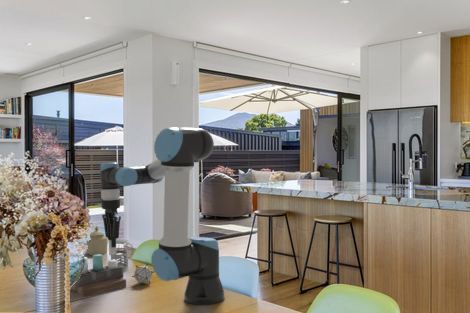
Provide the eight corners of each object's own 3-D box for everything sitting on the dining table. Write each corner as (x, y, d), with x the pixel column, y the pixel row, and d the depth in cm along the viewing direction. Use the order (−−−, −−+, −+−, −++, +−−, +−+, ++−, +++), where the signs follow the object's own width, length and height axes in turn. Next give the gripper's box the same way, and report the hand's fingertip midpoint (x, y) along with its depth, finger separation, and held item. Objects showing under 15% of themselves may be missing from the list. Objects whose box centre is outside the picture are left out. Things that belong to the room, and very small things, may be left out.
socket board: (127, 286, 194) (127, 268, 194) (82, 296, 182) (82, 277, 181) (112, 279, 205) (112, 262, 205) (69, 289, 192) (68, 271, 192)
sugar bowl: (79, 252, 261) (78, 225, 261) (97, 248, 269) (96, 223, 269) (93, 256, 251) (92, 228, 250) (111, 252, 259) (110, 225, 258)
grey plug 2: (119, 274, 197) (118, 260, 197) (110, 276, 195) (110, 262, 194) (115, 273, 200) (114, 259, 200) (106, 274, 198) (105, 260, 197)
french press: (107, 268, 224) (105, 217, 223) (131, 265, 229) (129, 215, 228) (110, 273, 215) (109, 219, 214) (135, 270, 220) (134, 217, 219)
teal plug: (104, 269, 193) (104, 255, 193) (95, 271, 190) (95, 257, 190) (100, 268, 196) (100, 253, 196) (91, 269, 193) (90, 255, 193)
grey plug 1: (89, 272, 189) (89, 258, 188) (79, 274, 186) (79, 259, 186) (85, 271, 192) (85, 256, 192) (76, 272, 189) (75, 258, 189)
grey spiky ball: (138, 293, 197) (123, 274, 197) (150, 280, 204) (136, 263, 204) (150, 286, 192) (135, 267, 192) (162, 273, 199) (147, 255, 199)
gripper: (126, 199, 194) (128, 255, 194) (112, 197, 204) (114, 251, 204) (109, 200, 189) (111, 258, 189) (95, 199, 199) (97, 253, 199)
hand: (112, 254), depth 197 cm, fingers closed
